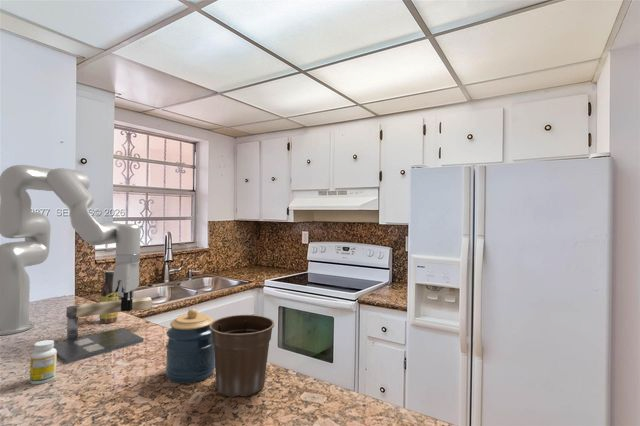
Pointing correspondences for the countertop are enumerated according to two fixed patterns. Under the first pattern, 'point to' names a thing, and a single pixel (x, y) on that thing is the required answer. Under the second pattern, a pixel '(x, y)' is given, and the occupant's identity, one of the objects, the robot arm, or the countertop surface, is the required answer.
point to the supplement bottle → (43, 362)
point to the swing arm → (106, 307)
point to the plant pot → (241, 353)
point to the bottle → (108, 297)
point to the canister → (190, 348)
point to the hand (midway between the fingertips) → (126, 310)
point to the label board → (92, 342)
